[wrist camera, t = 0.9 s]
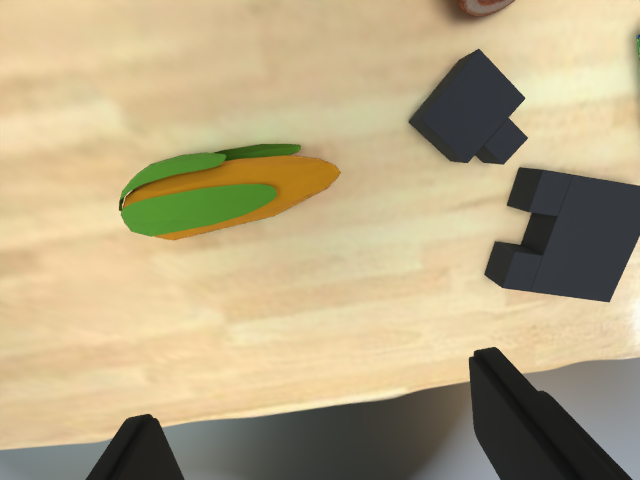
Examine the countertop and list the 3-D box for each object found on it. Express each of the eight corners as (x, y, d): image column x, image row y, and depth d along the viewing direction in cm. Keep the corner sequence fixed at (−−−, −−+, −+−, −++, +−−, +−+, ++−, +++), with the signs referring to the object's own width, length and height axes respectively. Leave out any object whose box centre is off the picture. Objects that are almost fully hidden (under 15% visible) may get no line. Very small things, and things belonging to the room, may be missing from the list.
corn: (74, 179, 24) (336, 122, 23) (127, 166, 31) (328, 122, 30) (116, 267, 26) (352, 217, 26) (156, 236, 34) (341, 196, 33)
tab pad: (459, 59, 29) (479, 48, 26) (520, 122, 31) (545, 119, 28) (408, 121, 31) (420, 118, 27) (468, 178, 33) (487, 182, 29)
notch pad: (518, 167, 32) (543, 169, 29) (625, 185, 33) (661, 189, 30) (484, 274, 36) (502, 288, 32) (582, 288, 37) (609, 302, 33)
